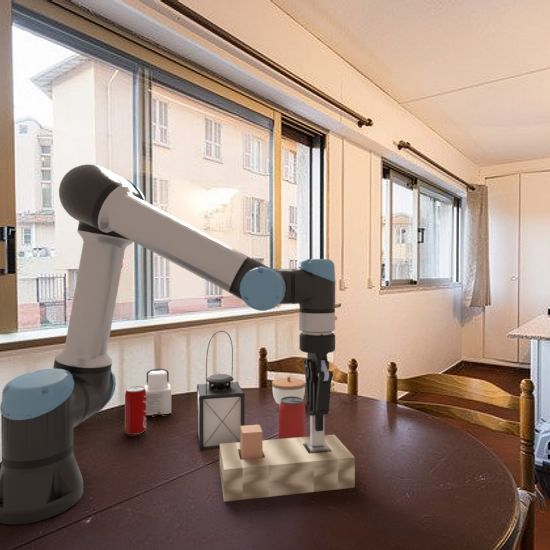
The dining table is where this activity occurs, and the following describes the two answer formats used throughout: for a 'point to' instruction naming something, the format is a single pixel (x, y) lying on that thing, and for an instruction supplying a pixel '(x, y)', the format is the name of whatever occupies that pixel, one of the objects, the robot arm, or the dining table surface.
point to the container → (158, 392)
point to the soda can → (135, 410)
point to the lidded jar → (288, 388)
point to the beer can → (291, 417)
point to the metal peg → (316, 448)
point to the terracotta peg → (251, 442)
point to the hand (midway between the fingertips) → (317, 443)
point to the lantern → (219, 410)
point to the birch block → (285, 469)
